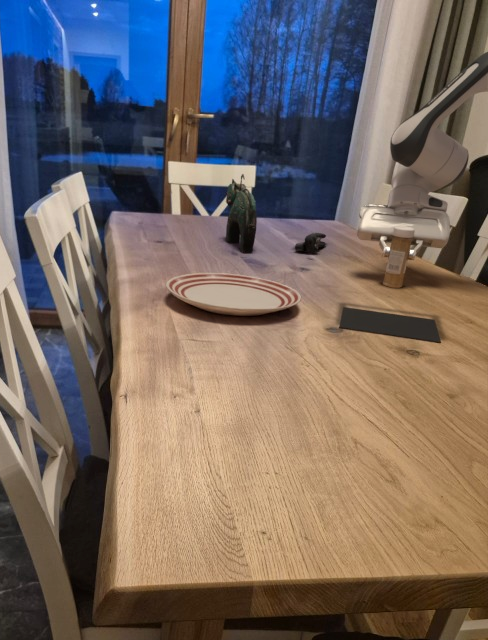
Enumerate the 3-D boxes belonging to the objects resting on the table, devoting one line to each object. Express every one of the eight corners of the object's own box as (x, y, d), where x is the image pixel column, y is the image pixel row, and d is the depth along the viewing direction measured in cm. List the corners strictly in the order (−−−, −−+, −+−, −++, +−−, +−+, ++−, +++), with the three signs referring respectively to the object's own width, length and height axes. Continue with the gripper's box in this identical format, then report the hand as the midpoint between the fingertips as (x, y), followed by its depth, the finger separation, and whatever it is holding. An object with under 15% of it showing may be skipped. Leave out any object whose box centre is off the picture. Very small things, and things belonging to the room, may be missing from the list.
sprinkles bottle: (405, 287, 135) (419, 228, 129) (393, 289, 133) (407, 229, 127) (389, 282, 138) (402, 225, 132) (377, 284, 136) (389, 226, 130)
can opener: (313, 256, 164) (317, 236, 162) (291, 252, 167) (294, 232, 165) (334, 247, 178) (337, 229, 175) (312, 244, 181) (315, 225, 178)
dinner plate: (227, 279, 135) (228, 264, 134) (325, 308, 118) (328, 293, 117) (137, 297, 117) (137, 281, 116) (238, 335, 100) (240, 317, 99)
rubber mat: (434, 320, 115) (434, 319, 115) (440, 343, 103) (441, 342, 103) (343, 307, 119) (343, 306, 119) (339, 328, 107) (339, 327, 107)
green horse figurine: (220, 239, 179) (226, 170, 170) (240, 240, 180) (247, 171, 171) (238, 253, 161) (245, 177, 152) (260, 254, 162) (268, 179, 154)
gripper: (362, 194, 136) (353, 243, 131) (455, 202, 131) (448, 254, 127) (359, 211, 141) (350, 259, 137) (448, 220, 137) (441, 270, 132)
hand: (398, 257), depth 132 cm, fingers closed on sprinkles bottle, 4 cm apart
